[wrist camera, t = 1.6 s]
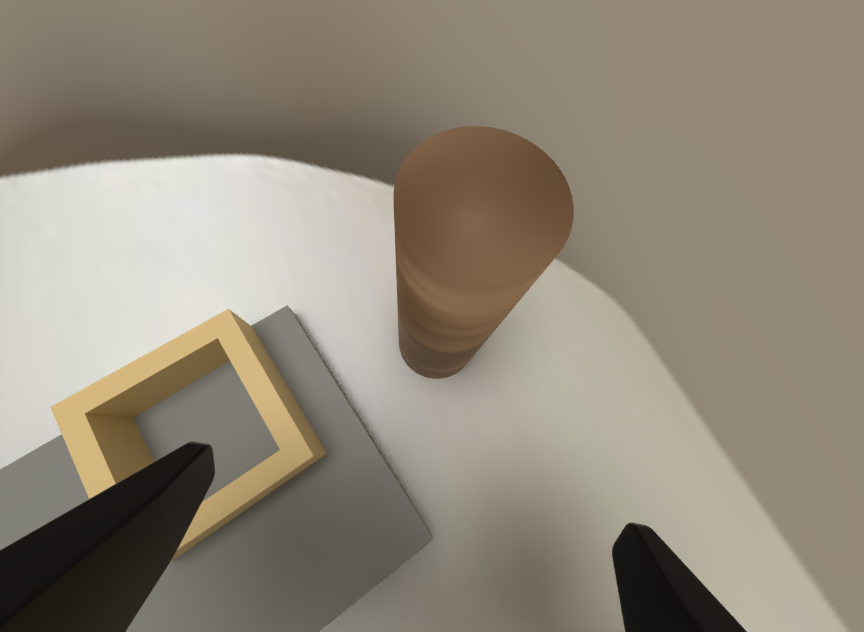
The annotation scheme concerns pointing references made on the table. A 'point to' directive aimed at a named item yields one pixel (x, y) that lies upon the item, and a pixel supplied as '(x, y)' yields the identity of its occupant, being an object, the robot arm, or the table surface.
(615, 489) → the table surface
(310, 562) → the bracket board
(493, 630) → the table surface
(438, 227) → the walnut post
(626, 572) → the robot arm
